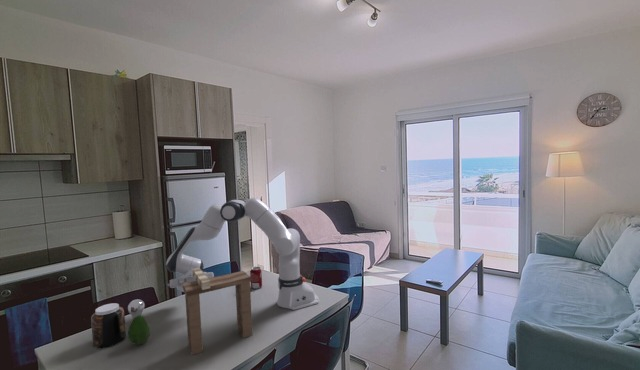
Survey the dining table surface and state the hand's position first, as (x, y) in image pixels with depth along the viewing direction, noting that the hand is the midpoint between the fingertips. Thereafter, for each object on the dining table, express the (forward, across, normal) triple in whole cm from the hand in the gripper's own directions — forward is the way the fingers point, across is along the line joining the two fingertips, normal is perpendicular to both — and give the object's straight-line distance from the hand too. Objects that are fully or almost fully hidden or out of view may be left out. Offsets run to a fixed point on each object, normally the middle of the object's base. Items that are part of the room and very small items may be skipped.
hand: (195, 278), depth 149 cm
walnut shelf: (+12, +5, +28) cm, 31 cm away
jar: (-16, -34, +19) cm, 42 cm away
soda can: (-28, +41, +10) cm, 50 cm away
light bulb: (-24, -23, +15) cm, 36 cm away
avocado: (-6, -24, +22) cm, 33 cm away
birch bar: (+18, -2, +3) cm, 19 cm away
